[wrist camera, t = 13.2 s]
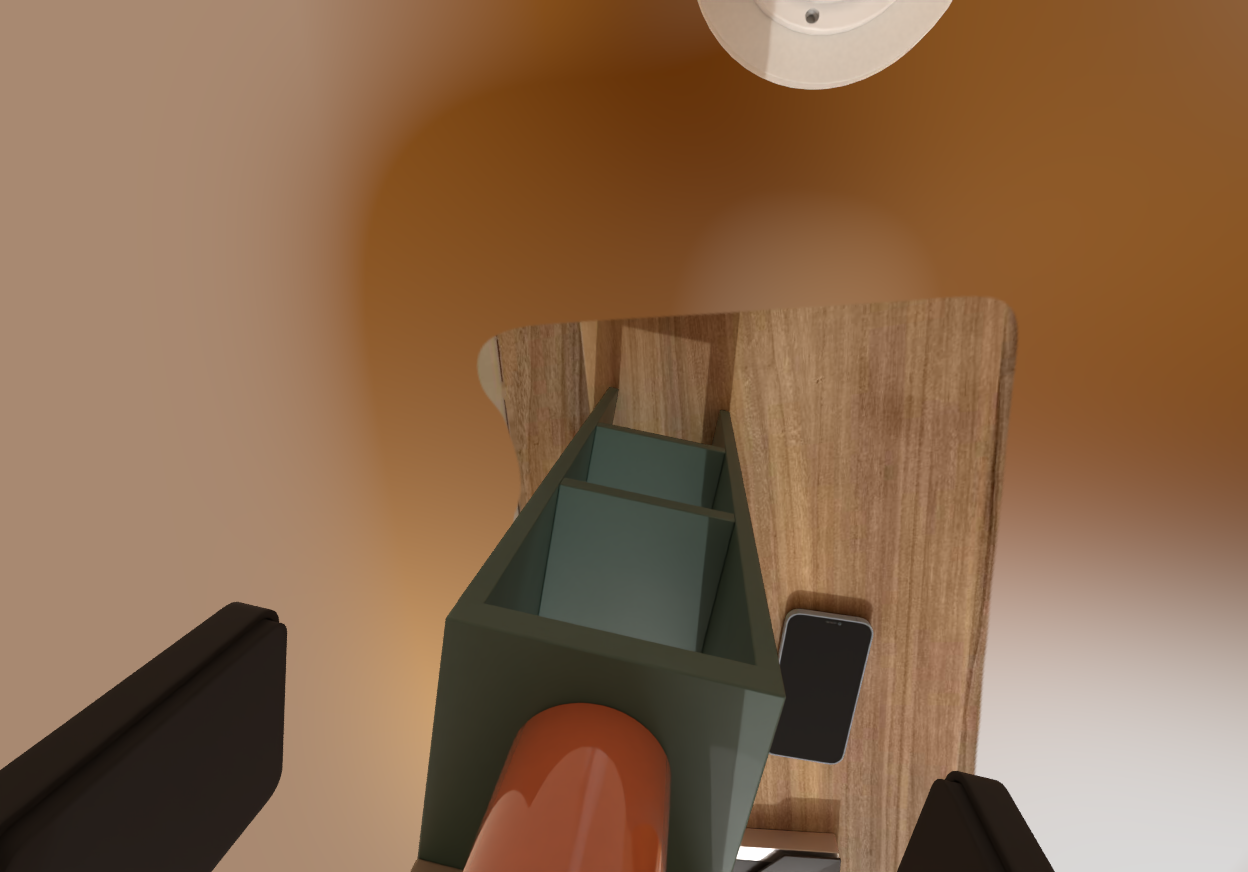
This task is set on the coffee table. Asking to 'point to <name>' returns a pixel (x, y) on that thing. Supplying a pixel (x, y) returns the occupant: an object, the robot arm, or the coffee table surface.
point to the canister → (578, 797)
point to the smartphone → (820, 683)
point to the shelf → (617, 636)
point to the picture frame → (787, 852)
